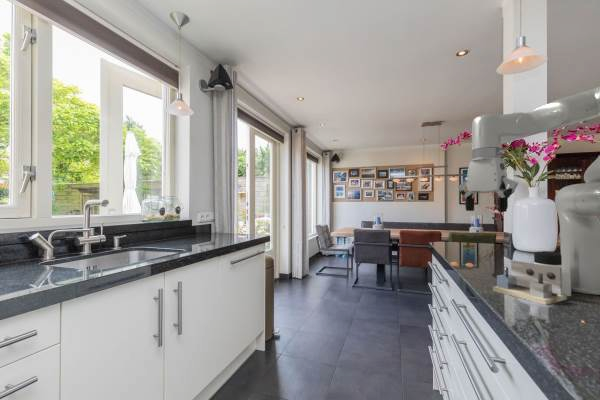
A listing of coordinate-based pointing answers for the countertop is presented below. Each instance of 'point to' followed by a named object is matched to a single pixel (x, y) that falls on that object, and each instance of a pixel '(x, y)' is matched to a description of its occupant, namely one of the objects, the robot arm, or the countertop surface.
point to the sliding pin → (506, 280)
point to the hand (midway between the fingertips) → (485, 211)
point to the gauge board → (535, 283)
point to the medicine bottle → (554, 261)
